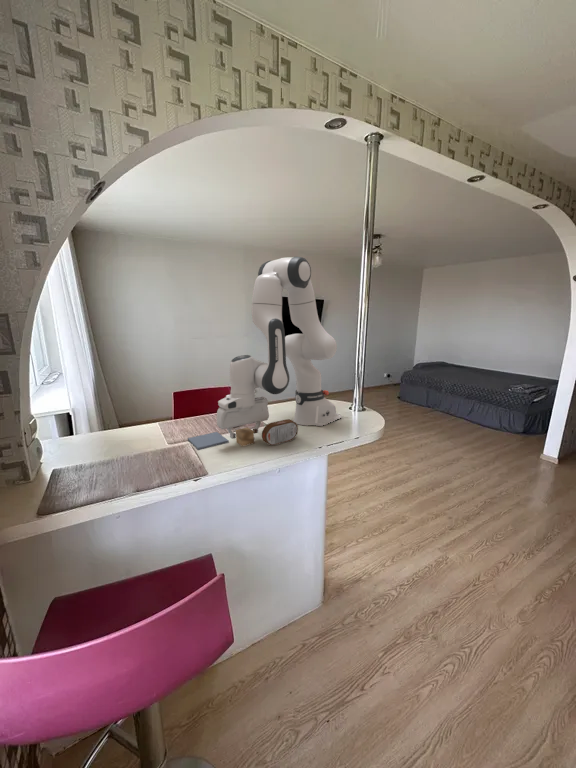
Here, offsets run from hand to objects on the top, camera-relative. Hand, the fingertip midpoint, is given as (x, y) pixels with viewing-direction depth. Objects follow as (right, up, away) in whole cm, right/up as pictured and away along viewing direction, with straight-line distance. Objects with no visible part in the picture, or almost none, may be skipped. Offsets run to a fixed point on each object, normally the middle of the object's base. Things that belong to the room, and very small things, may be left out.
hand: (244, 435), depth 124 cm
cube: (0, -3, +1) cm, 3 cm away
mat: (-15, -3, +4) cm, 15 cm away
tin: (+14, -3, +1) cm, 14 cm away
